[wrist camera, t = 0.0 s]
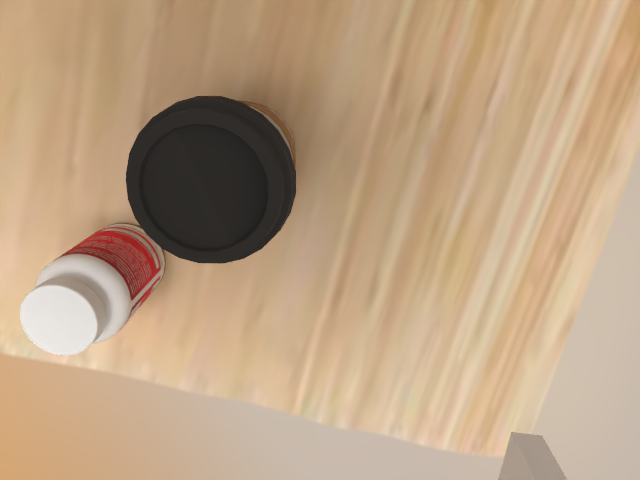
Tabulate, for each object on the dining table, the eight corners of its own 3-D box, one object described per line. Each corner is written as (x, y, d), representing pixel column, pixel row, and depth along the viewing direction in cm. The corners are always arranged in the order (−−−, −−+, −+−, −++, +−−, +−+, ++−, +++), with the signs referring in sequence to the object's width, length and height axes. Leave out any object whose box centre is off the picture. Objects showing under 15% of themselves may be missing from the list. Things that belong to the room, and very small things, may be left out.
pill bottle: (92, 214, 41) (8, 262, 30) (171, 230, 41) (114, 284, 31) (86, 287, 43) (4, 356, 32) (161, 302, 43) (104, 376, 32)
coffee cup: (281, 70, 37) (248, 67, 23) (326, 179, 40) (320, 238, 25) (176, 115, 38) (81, 139, 24) (225, 219, 41) (165, 297, 26)
